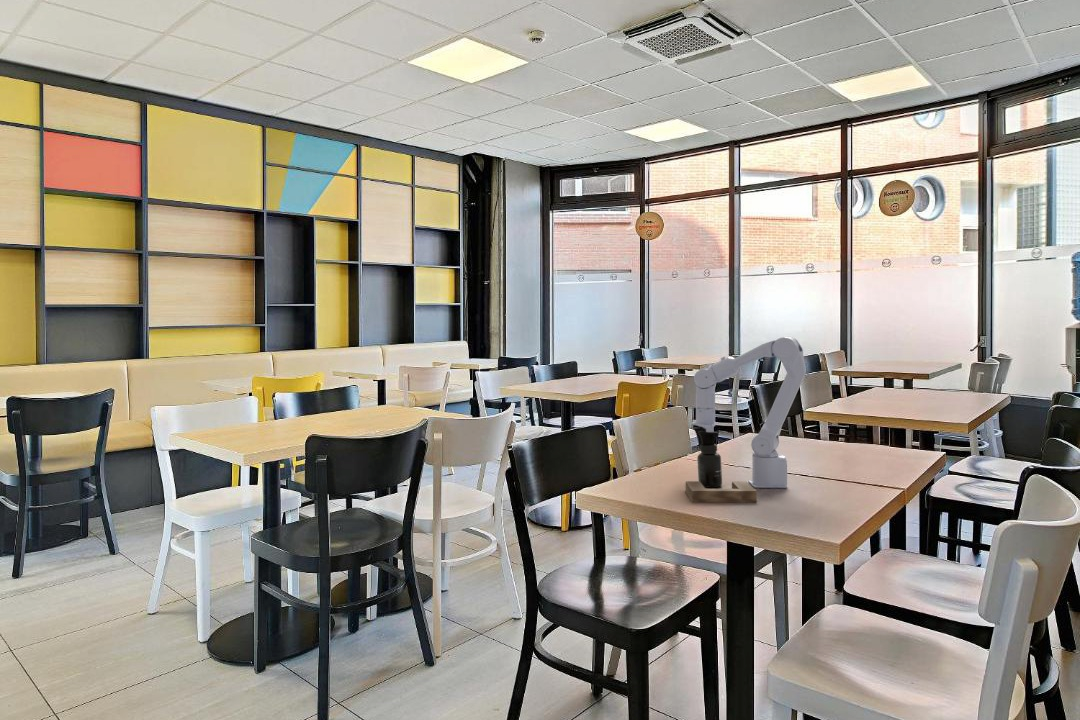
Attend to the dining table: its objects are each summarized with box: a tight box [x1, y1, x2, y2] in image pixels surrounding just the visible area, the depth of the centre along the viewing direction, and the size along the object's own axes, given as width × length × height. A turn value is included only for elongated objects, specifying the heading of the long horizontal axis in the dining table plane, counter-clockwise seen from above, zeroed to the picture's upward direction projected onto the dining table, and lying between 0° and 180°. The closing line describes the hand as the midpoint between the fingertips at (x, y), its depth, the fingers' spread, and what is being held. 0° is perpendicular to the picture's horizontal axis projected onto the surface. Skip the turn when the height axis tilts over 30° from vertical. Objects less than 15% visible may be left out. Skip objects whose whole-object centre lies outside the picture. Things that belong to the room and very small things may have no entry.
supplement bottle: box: [696, 443, 723, 488], centre depth 205 cm, size 7×7×12 cm
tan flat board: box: [685, 480, 758, 503], centre depth 192 cm, size 17×12×3 cm
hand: (705, 452), depth 213 cm, fingers open, 6 cm apart
